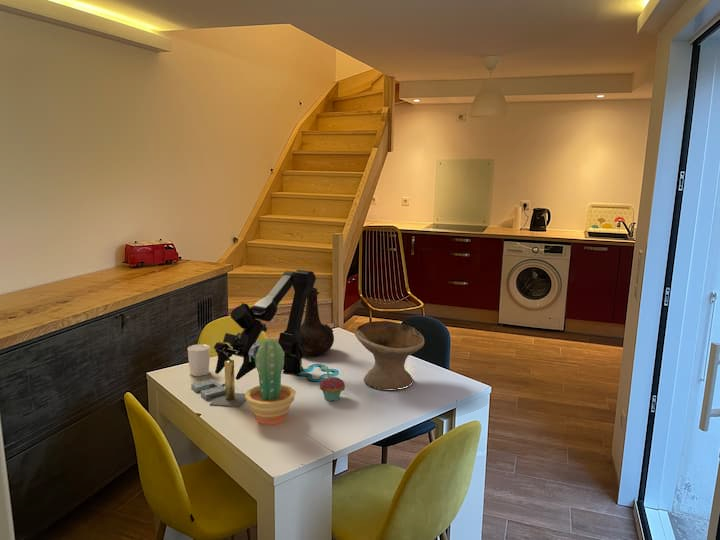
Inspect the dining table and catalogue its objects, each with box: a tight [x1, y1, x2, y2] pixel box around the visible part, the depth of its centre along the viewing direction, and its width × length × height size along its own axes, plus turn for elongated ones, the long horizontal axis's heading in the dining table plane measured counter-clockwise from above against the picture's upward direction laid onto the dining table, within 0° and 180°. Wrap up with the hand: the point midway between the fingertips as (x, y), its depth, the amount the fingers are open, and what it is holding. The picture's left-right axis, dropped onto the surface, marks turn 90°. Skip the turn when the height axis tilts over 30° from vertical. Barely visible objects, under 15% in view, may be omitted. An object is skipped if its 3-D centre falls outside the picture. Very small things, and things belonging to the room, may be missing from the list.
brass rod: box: [224, 359, 236, 401], centre depth 173 cm, size 3×3×13 cm
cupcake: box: [318, 364, 346, 401], centre depth 176 cm, size 9×8×12 cm
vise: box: [190, 378, 225, 401], centre depth 181 cm, size 10×12×2 cm
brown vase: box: [300, 287, 335, 357], centre depth 222 cm, size 18×18×28 cm
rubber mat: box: [209, 392, 246, 408], centre depth 174 cm, size 10×10×1 cm
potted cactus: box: [244, 337, 296, 426], centre depth 159 cm, size 15×15×25 cm
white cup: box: [187, 344, 211, 377], centre depth 197 cm, size 8×8×10 cm
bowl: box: [354, 320, 425, 390], centre depth 191 cm, size 26×25×20 cm
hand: (226, 376), depth 171 cm, fingers open, 9 cm apart
